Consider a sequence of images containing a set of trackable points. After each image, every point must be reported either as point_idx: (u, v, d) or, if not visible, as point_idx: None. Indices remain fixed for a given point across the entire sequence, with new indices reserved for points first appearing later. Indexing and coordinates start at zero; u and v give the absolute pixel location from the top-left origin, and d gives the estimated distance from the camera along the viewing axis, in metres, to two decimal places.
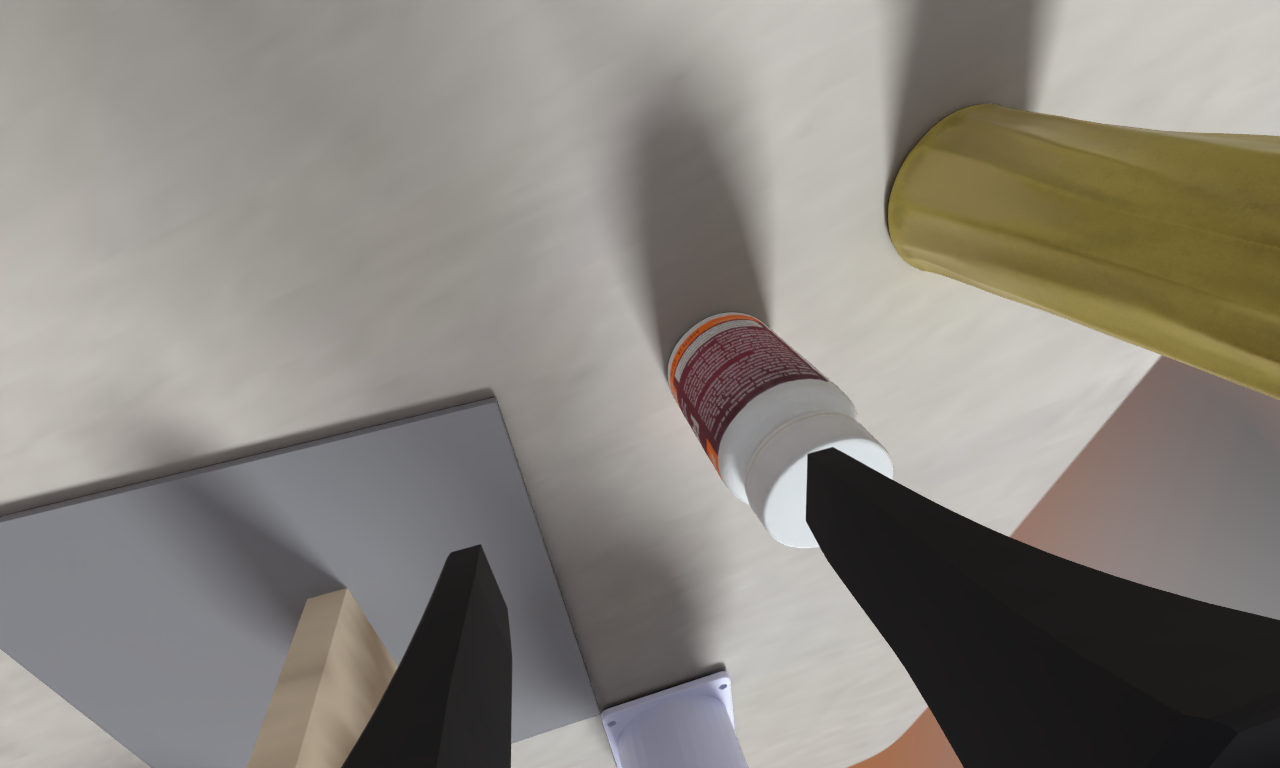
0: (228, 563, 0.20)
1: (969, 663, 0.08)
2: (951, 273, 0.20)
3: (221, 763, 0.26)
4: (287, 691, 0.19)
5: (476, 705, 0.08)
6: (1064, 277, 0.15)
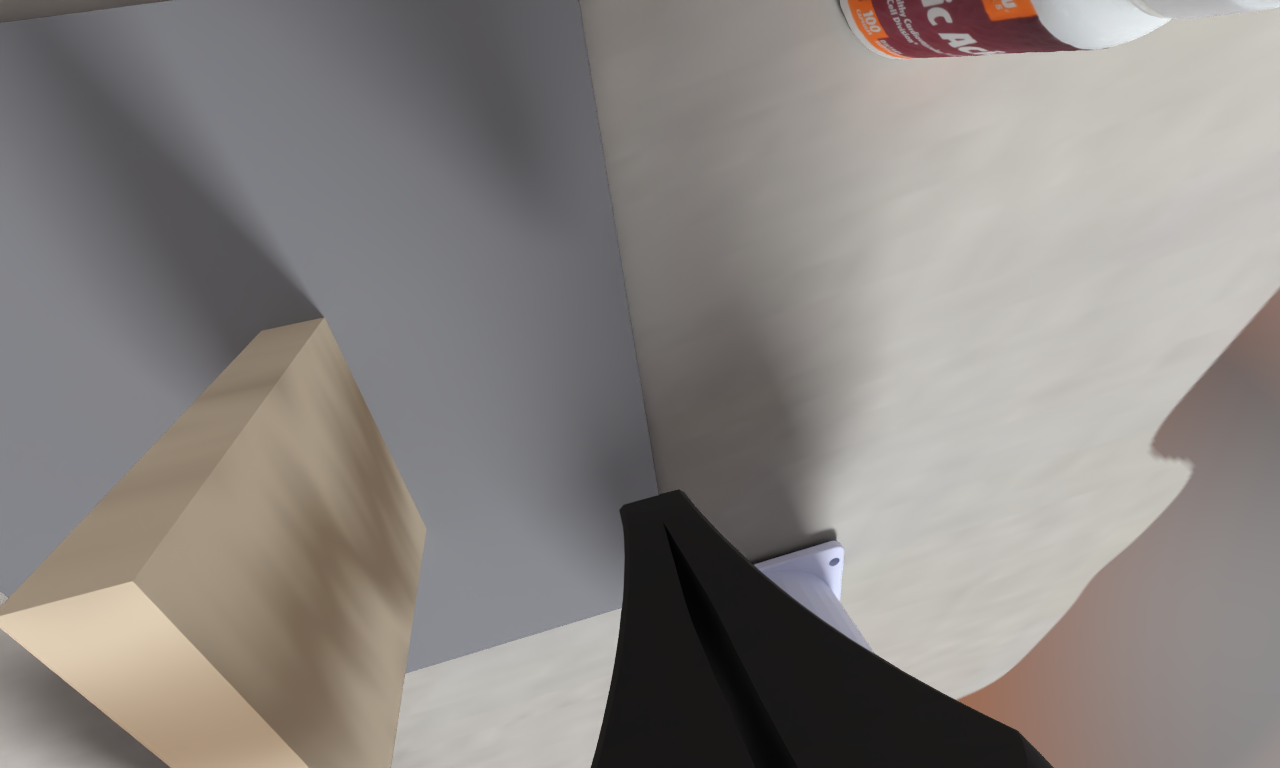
0: (126, 235, 0.12)
1: (751, 739, 0.08)
2: None
3: None
4: (211, 405, 0.11)
5: None
6: None
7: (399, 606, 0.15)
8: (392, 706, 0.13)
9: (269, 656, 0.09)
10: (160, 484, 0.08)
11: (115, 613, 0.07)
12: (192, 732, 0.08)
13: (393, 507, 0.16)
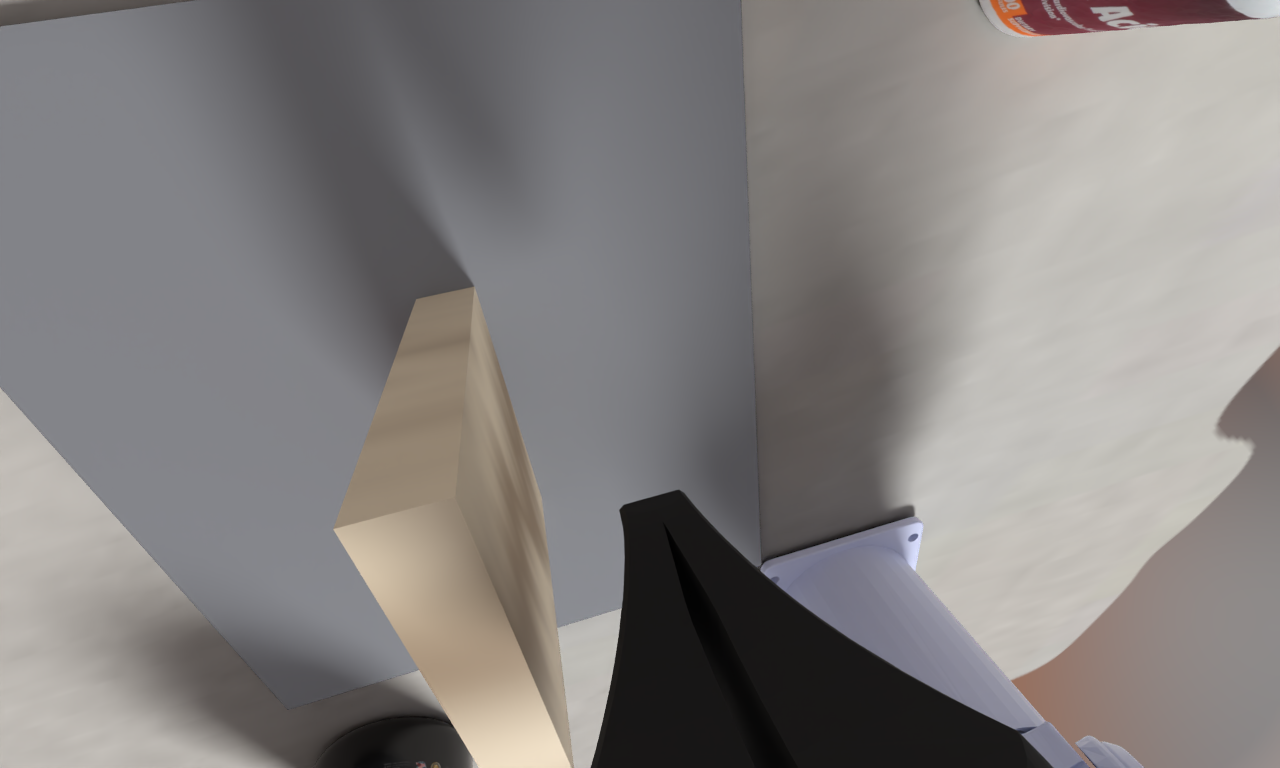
0: (306, 204, 0.13)
1: (751, 739, 0.08)
2: None
3: (274, 589, 0.18)
4: (416, 360, 0.11)
5: None
6: None
7: (544, 564, 0.15)
8: (558, 655, 0.13)
9: (509, 587, 0.09)
10: (417, 422, 0.09)
11: (432, 528, 0.07)
12: (457, 652, 0.09)
13: (526, 472, 0.16)
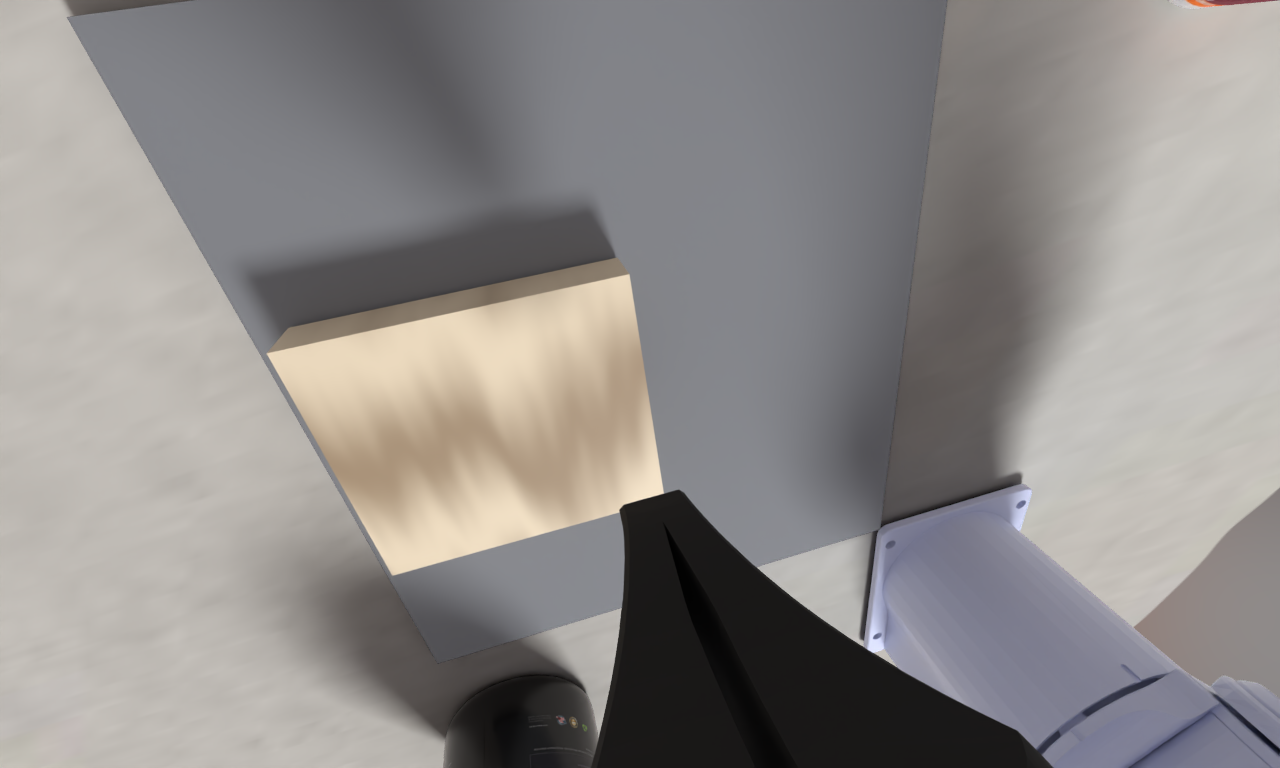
0: (543, 160, 0.14)
1: (751, 739, 0.08)
2: None
3: None
4: (471, 294, 0.14)
5: None
6: None
7: (541, 510, 0.17)
8: (469, 544, 0.17)
9: (352, 440, 0.14)
10: (368, 320, 0.14)
11: None
12: None
13: (608, 455, 0.17)
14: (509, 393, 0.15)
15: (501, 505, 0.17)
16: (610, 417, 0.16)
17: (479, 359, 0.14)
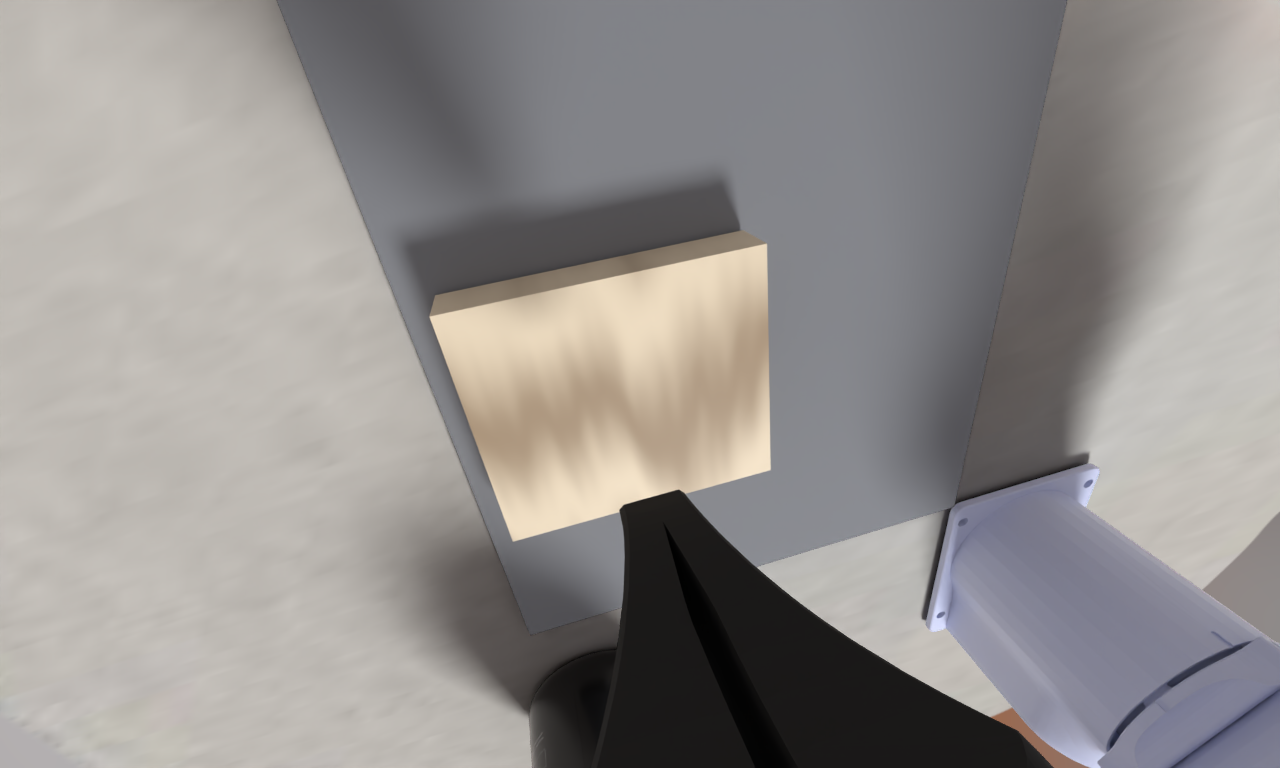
0: (685, 133, 0.14)
1: (751, 739, 0.08)
2: None
3: None
4: (610, 263, 0.15)
5: None
6: None
7: (657, 478, 0.17)
8: (587, 511, 0.17)
9: (494, 405, 0.15)
10: (517, 287, 0.14)
11: None
12: None
13: (725, 424, 0.17)
14: (643, 360, 0.15)
15: (621, 472, 0.17)
16: (731, 386, 0.16)
17: (620, 326, 0.15)
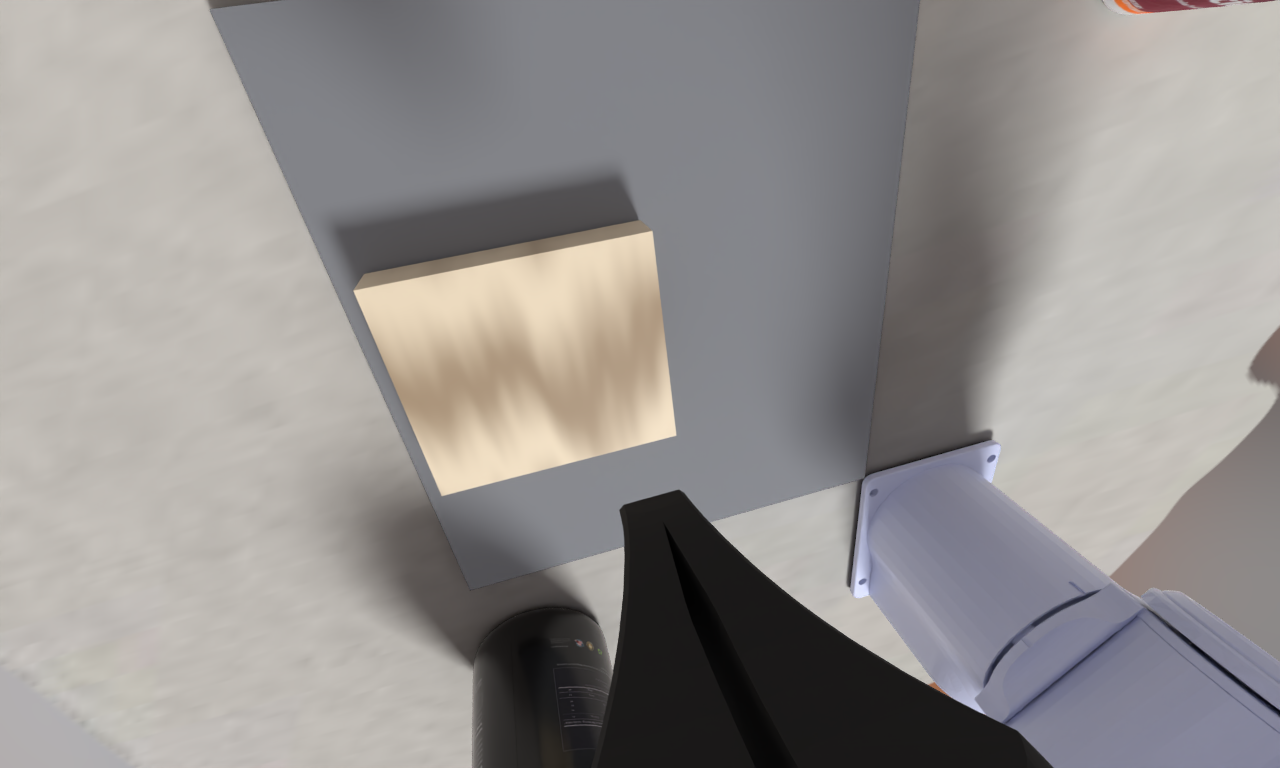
0: (581, 134, 0.16)
1: (751, 739, 0.08)
2: None
3: None
4: (518, 247, 0.17)
5: None
6: None
7: (571, 440, 0.20)
8: (508, 469, 0.20)
9: (416, 370, 0.17)
10: (434, 267, 0.16)
11: None
12: None
13: (629, 392, 0.19)
14: (548, 333, 0.17)
15: (537, 434, 0.19)
16: (632, 357, 0.19)
17: (525, 301, 0.17)
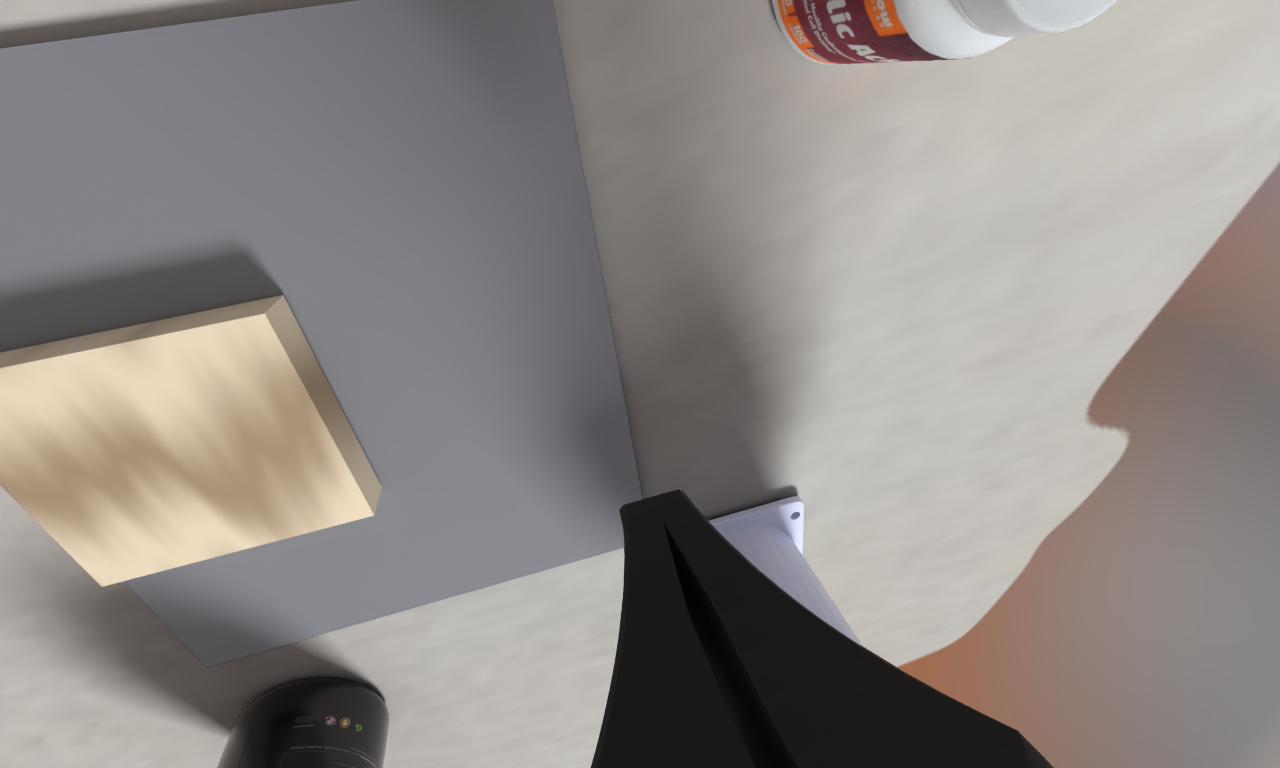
0: (181, 210, 0.15)
1: (751, 739, 0.08)
2: None
3: None
4: (128, 330, 0.16)
5: None
6: None
7: (243, 526, 0.18)
8: (176, 557, 0.18)
9: (19, 464, 0.16)
10: (20, 356, 0.15)
11: None
12: None
13: (298, 475, 0.18)
14: (173, 420, 0.16)
15: (198, 522, 0.18)
16: (289, 441, 0.17)
17: (130, 391, 0.15)
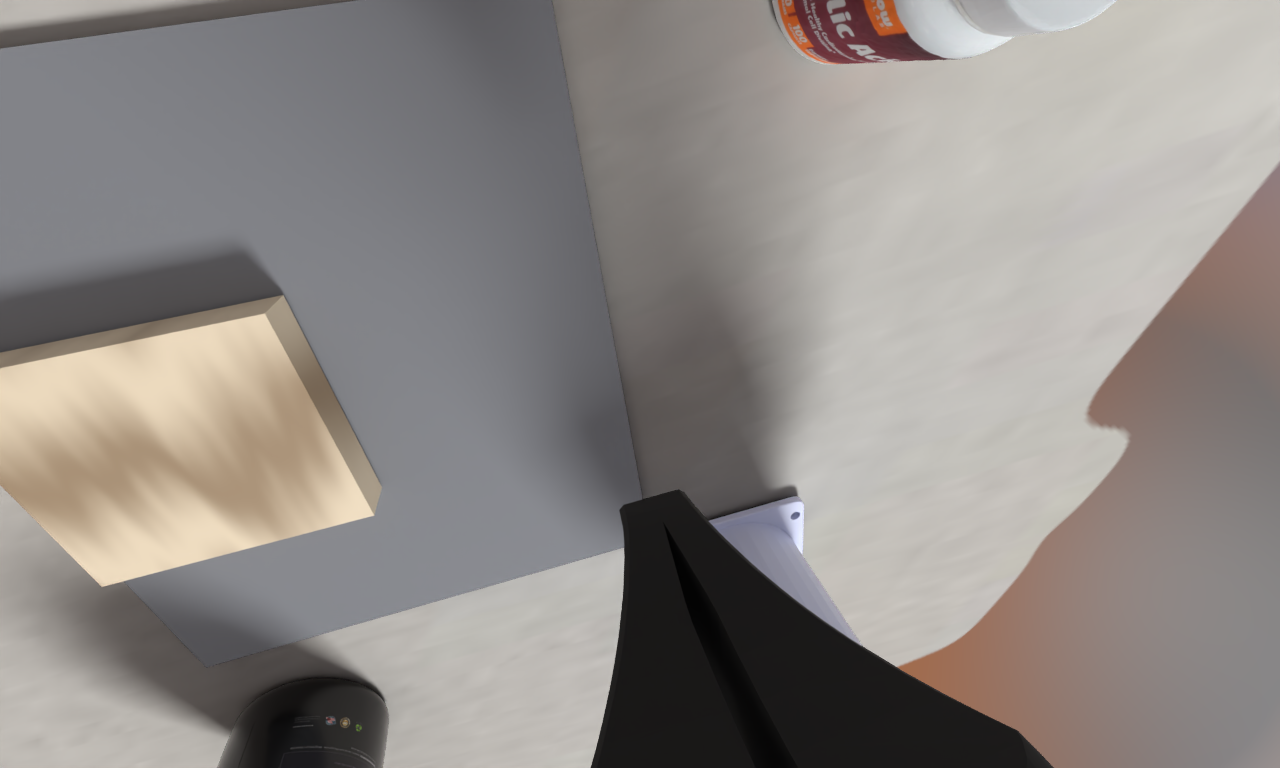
0: (181, 210, 0.15)
1: (751, 739, 0.08)
2: None
3: None
4: (128, 330, 0.16)
5: None
6: None
7: (243, 526, 0.18)
8: (176, 557, 0.18)
9: (19, 464, 0.16)
10: (20, 356, 0.15)
11: None
12: None
13: (298, 475, 0.18)
14: (173, 420, 0.16)
15: (198, 522, 0.18)
16: (289, 441, 0.17)
17: (130, 391, 0.15)
